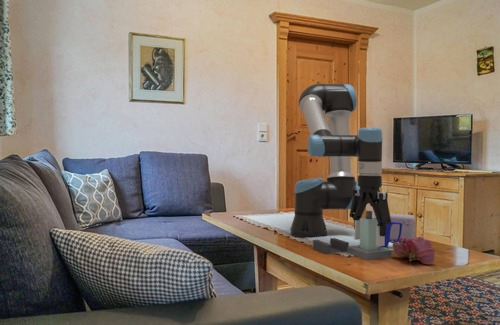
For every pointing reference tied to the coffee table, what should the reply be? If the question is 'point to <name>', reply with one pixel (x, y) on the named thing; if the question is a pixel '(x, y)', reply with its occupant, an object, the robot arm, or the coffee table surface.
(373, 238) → the plug
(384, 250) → the port
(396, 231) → the electronic device
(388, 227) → the mug
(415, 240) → the flower
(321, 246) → the holster
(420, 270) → the coffee table surface
